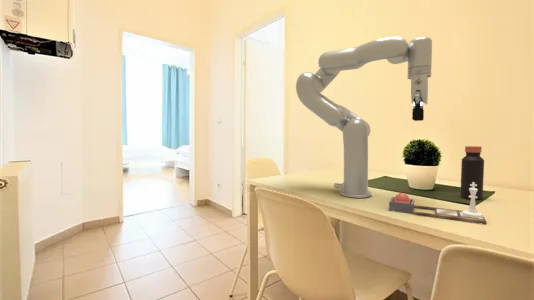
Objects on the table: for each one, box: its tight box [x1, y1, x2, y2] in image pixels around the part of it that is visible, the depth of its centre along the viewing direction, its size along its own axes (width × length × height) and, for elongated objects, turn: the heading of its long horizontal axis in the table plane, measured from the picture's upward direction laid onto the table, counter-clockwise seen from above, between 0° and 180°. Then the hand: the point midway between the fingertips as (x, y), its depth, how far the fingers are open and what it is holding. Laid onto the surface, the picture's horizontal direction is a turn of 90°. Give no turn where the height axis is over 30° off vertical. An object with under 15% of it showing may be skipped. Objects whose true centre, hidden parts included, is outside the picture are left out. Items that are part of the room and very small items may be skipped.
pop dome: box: [394, 192, 411, 203], centre depth 88 cm, size 5×5×5 cm
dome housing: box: [388, 196, 416, 215], centre depth 88 cm, size 7×7×3 cm
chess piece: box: [462, 182, 484, 218], centre depth 78 cm, size 5×5×10 cm
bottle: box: [460, 145, 485, 201], centre depth 101 cm, size 7×7×20 cm
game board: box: [412, 204, 487, 225], centre depth 82 cm, size 18×9×1 cm, turn 58°
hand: (418, 120), depth 97 cm, fingers open, 9 cm apart
